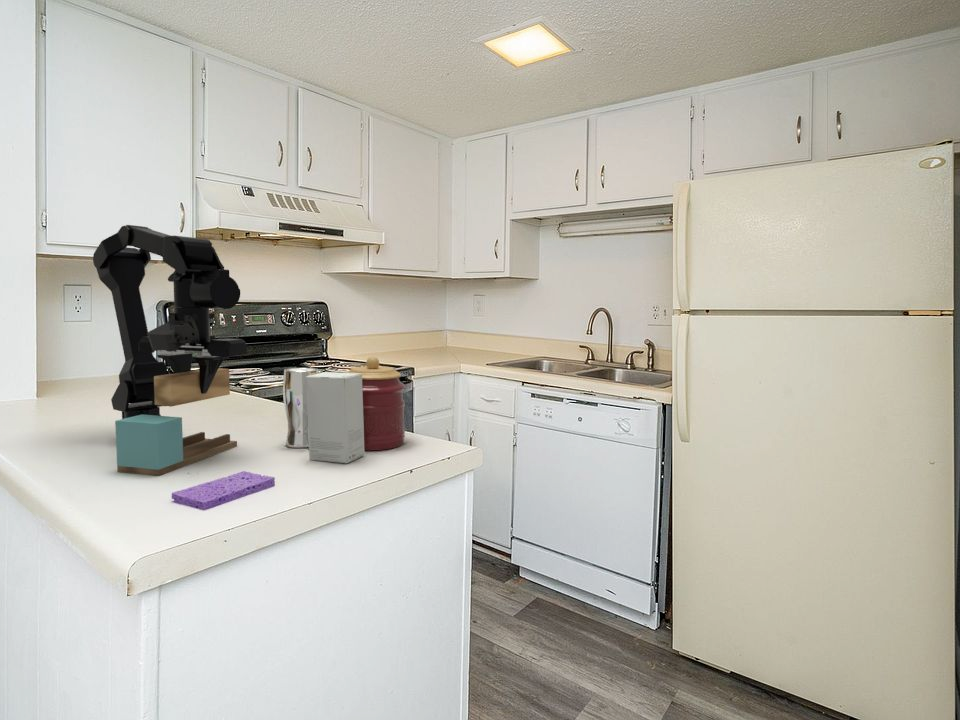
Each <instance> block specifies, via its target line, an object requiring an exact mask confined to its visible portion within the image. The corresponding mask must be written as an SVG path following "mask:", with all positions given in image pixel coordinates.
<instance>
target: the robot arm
mask: <svg viewBox="0 0 960 720" xmlns="http://www.w3.org/2000/svg"><path fill="white" fill-rule="evenodd" d="M151 254H155V255H158V256H160V257H162V262H163V263H165V264H166V265H168V266H169V267H170V268H172V269H174V271H173V272H172V273H171V274H170V275H169V276H168V277H167V281H168V282H171V283H173V312H169V313H168V316H167V319H168V320H167V322H165V323H164V324H161V325H158V326H157V327H155V328H153V329H151V330H149V329H148V325H147V319H146V316H145V311H144V305H143V301H142V297H141V291H140V286H141V284H142V282H143V279H145V276H146V269H145V268H146V266H147V265H148V264H149V263H150V261H151V260H152V257H151ZM92 262H93V266H94V267H95V268H96V272H97V274H98V278H99V281H101V282H102V283H103V285H104V286H105V287H106V288H107V289H109V291H110V292H111V296H112V302H113V306H114V309H115V316H116V319H117V325H118V331H119V336H120V341H121V347H122V350H123V355H124V364H123V365H122V368H121V370H120V371H119V375H118V380H119V381H118V382H119V384H118V385H117V388H116V389H115V391H114V393H113V395H112V397H111V399H110V401H111V405H112V410H114V411H119V412H121V419H125V418H129V417H133V416H138V415H142V414H143V415H156V416H162V415H161V411H160V409H161V407H162V406H161V405H155V396H154V376H160V375H167V374H168V369H167V365H166V363H167V364H168V365H169V367H170V369H171V370H172V372H173V373H172V374H174V373H181V372H188V371H192V370H191V369H192V363H193V358H194V360H195V361H196V363H197V364H198V367H199V368H198V370H199V373H200V389H201V393H202V394H205V393H207V391H208V389H209V387H210V385H211V383H212V381H213V378H214V376H215V374H216V372H217V370H218V369H219V368H221V365H222V363H223V362H224V360H225V359H229V357H236V356H243V355H247V354H248V345H247V343H246V341H245V340H244V339H243V338H219V339H216V336H215V335H214V334H213V335H211V323H210V321H211V320H215V313H214V312H210V309H216V310H217V309H218V310H219V309H221V310H229V309H232V308H234V307H235V306H236V305H237V304H238V303H239V301H240V298H241V288H240V287H239V285H238V283H237V281H236V280H235V279H234V278H233V277H231V276H230V270H229V269H225V266H224V265H223V263H222V262H221V260H220V258H219V255H218V253H217V252H216V249H215V248H214V246H213V243H212V242H211V241H210V239H207V238H202V237H201V238H199V237H190V236H183V235H182V236H181V235H170V234H167V233H163V232H160V231H158V230H154V229H151V228H149V227H147V226H142V225H131V224H126V225H121V227H120V228H119V229H118V231H117V232H116V233H114V234H111V236H108V237H106V238H105V239H102V240H101V242H100V243H99V244H98V246H97V248H96V249H95V251H94V253H93V256H92ZM157 351H159V354H157V355H156V356H157V358H158V359H162V360H163V361H159V360H158V359H157V358H156V357H154V354H153V353H155V352H157ZM186 351H192V352H186ZM193 352H201V356H195V357H193ZM165 362H166V363H165Z"/></svg>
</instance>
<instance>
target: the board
mask: <svg viewBox="0 0 960 720" xmlns="http://www.w3.org/2000/svg"><path fill="white" fill-rule="evenodd" d="M235 447H238V441H237V440H231V434H228V433H226V434H223V435H220V436H217V437H213V438H206V432H204V431H201V432H200V431H199V432H198V433H197V432H196V433H194V434H190V435H188V436H184V437H183V461H181V462H179V463H176V464H173V465H170V466H168V467H165V468H162V469H159V470H156V469H146V468H136V467H126V466H117V472H119V473H126V474H127V473H128V474H129V473H130V474H136V473H137V474H138V475H148V476H155V477H156V476H158V477H160V476H162V475H165V474H167V473H170V472H173V471H175V470H178V469H180V468H184V467H186V466H189V465H191V464H193V463H196V462H199V461H201V460H205V459H207V458H210V457H213V456H215V455H217V454H221V453H223V452H224V451H228V450H230V449H233V448H235Z"/></svg>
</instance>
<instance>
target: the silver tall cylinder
mask: <svg viewBox="0 0 960 720" xmlns="http://www.w3.org/2000/svg"><path fill="white" fill-rule="evenodd" d="M319 369H320V368H319ZM319 369H318V368H315V367H290V368H285V369H284V370H283V381H282V383H283V385H282V395H283V396H282V398H283V406H284V410H285V411H284V412H285V415H286V420H287V421H286V422H287V433H286V440H285V446H286V447H289V448H294V449H302V448H303V449H305V448H309V438H308V415H307V393H306V376H310V375H315V374H319V373H320V372H319V371H320V370H319Z"/></svg>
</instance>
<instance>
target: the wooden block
mask: <svg viewBox="0 0 960 720" xmlns="http://www.w3.org/2000/svg"><path fill="white" fill-rule="evenodd" d="M230 392H231V390H230V368H221V367H219V369H218V370H217V372H216V374H215V376H214V378H213V381H212V383H211V385H210V387H209V389H208V391H207V393H205V394H202V393H201V389H200V373H199V369H196V370H191V371H188V372H181V373H167V375H160V376H154V396H155V405H161V407H170V408H171V407H177V406H181V405H185V404H186V405H187V404H190V403H195V402H201V401H205V400H210V399H215V398H219V397H223V396H230V394H231V393H230Z"/></svg>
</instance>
